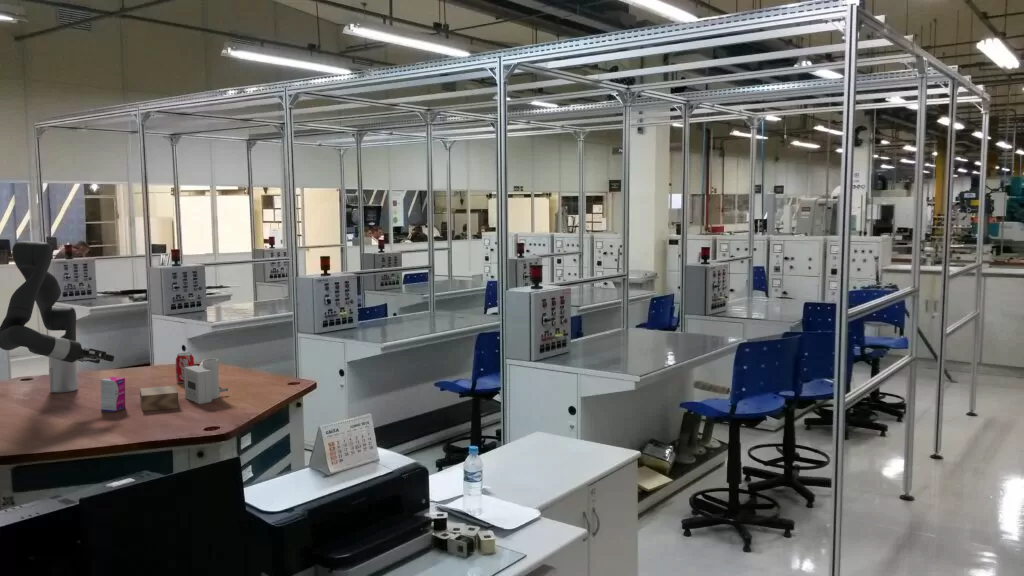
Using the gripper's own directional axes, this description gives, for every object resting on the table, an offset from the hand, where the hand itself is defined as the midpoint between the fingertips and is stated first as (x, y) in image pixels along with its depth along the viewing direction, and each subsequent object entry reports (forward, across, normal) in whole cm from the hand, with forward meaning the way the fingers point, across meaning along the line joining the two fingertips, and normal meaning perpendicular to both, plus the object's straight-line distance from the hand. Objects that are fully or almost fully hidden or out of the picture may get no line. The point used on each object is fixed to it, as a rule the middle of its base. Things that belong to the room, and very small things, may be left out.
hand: (106, 359), depth 274 cm
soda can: (+43, +13, -1) cm, 45 cm away
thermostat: (+35, -16, +8) cm, 39 cm away
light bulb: (+45, +1, +1) cm, 45 cm away
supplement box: (+6, -2, +18) cm, 19 cm away
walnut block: (+18, -10, +14) cm, 25 cm away
